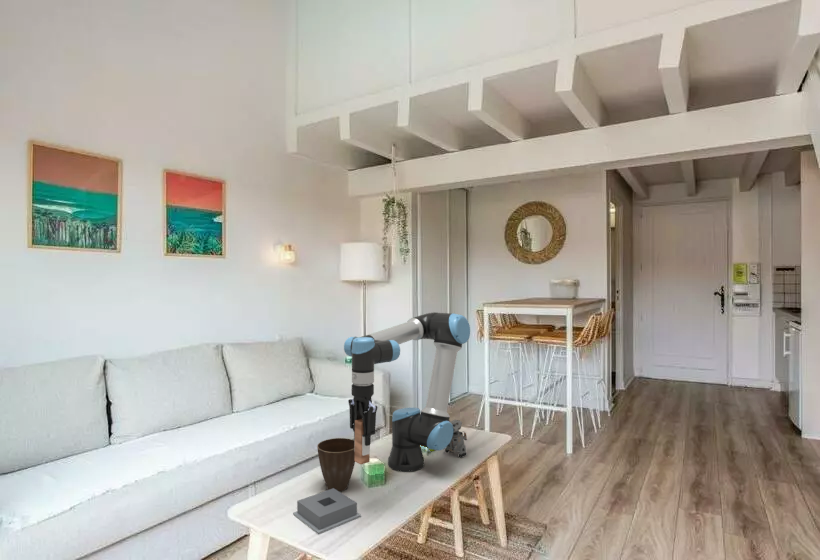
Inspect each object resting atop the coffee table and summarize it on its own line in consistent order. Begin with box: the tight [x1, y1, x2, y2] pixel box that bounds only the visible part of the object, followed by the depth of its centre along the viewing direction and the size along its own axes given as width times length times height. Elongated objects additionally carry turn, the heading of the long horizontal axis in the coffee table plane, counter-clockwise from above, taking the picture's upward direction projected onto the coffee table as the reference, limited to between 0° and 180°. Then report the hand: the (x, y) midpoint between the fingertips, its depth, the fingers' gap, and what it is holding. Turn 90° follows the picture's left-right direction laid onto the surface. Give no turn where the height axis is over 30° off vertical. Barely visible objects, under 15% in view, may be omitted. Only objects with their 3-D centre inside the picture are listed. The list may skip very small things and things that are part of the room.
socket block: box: [292, 488, 362, 535], centre depth 157 cm, size 16×16×5 cm
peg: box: [355, 419, 371, 465], centre depth 162 cm, size 4×4×14 cm
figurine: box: [444, 419, 468, 459], centre depth 209 cm, size 9×12×15 cm
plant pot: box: [316, 437, 356, 492], centre depth 177 cm, size 15×15×16 cm
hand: (362, 452), depth 162 cm, fingers closed on peg, 4 cm apart
